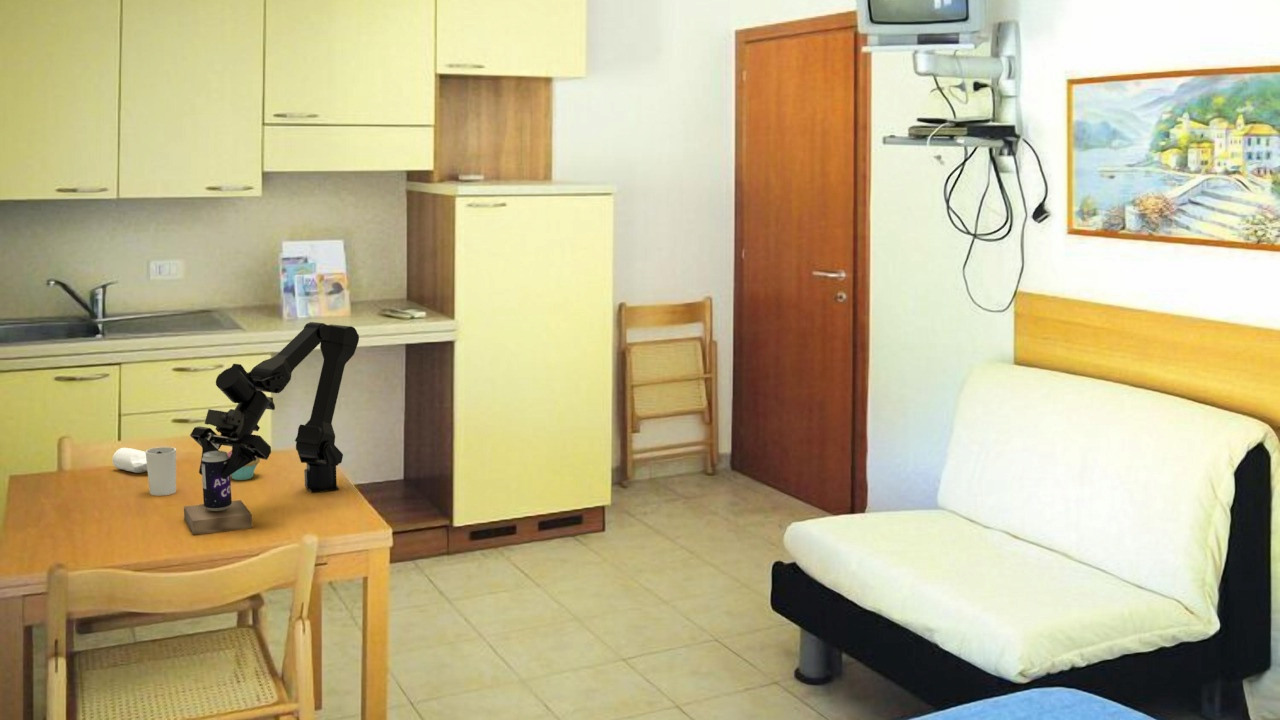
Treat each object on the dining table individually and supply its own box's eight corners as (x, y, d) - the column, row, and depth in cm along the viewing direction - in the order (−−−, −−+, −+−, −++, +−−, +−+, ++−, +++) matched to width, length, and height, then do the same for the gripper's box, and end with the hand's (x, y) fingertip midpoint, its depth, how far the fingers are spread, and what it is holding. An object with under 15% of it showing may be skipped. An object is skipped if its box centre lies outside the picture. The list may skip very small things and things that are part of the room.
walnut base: (241, 513, 291) (240, 500, 291) (252, 527, 281) (251, 514, 280) (184, 519, 286) (183, 506, 285) (193, 535, 275) (192, 521, 275)
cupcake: (254, 482, 317) (252, 433, 315) (218, 481, 317) (216, 432, 315) (264, 473, 325) (262, 425, 323) (230, 472, 325) (228, 425, 323)
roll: (141, 479, 319) (140, 456, 318) (112, 471, 326) (111, 449, 325) (163, 474, 324) (162, 451, 323) (134, 466, 331) (133, 444, 330)
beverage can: (214, 513, 279) (211, 458, 277) (198, 508, 282) (195, 454, 280) (237, 507, 283) (234, 453, 281) (221, 502, 287) (218, 448, 284)
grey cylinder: (141, 494, 305) (139, 452, 303) (161, 487, 311) (159, 445, 310) (164, 497, 303) (162, 454, 301) (184, 490, 309) (182, 448, 307)
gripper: (194, 389, 286) (157, 450, 278) (259, 398, 278) (222, 461, 270) (223, 418, 294) (187, 477, 287) (287, 427, 286) (252, 489, 278)
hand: (211, 476), depth 280 cm, fingers open, 6 cm apart
